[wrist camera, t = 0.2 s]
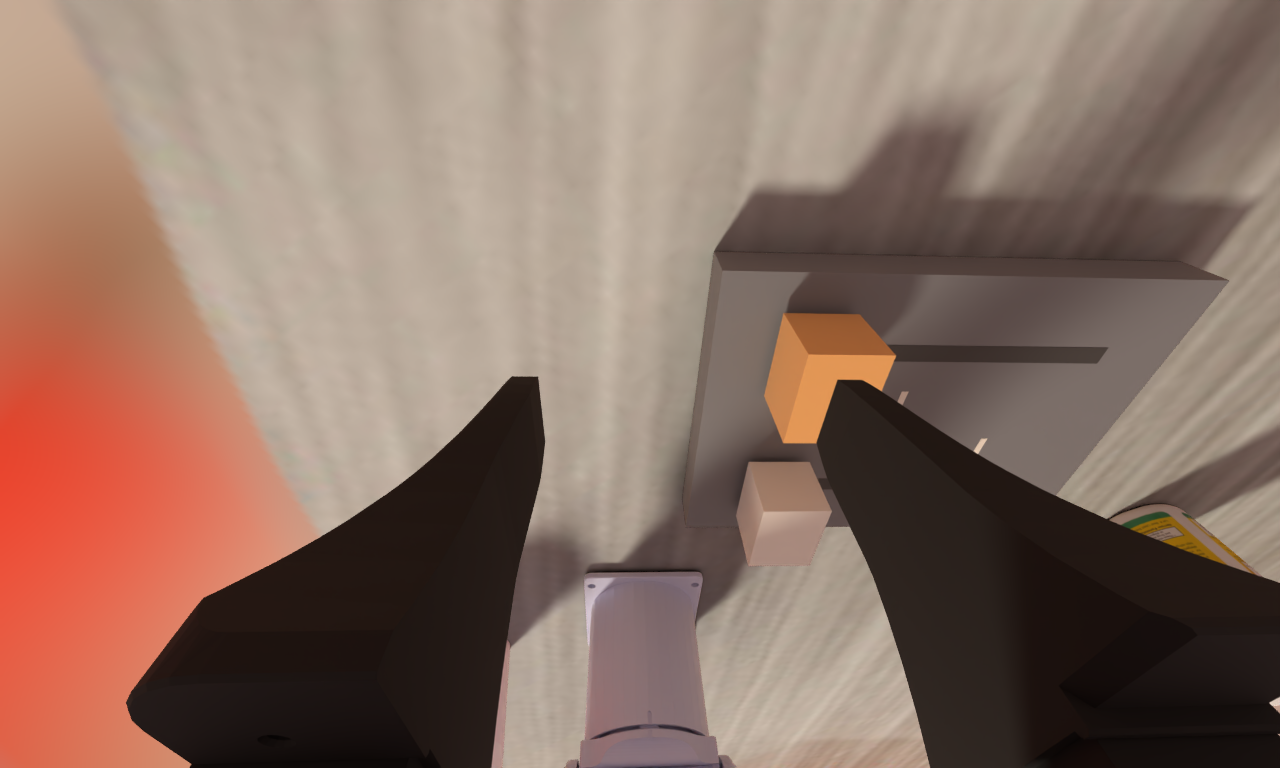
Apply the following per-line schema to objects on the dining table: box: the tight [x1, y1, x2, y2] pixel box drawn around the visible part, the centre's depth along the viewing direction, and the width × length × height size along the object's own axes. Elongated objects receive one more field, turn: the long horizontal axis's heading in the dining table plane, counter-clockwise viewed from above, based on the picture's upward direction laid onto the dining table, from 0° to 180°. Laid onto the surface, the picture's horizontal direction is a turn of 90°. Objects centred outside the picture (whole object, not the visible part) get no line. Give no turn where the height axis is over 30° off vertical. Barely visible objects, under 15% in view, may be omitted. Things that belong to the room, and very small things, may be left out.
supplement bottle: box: [1109, 504, 1280, 706], centre depth 27 cm, size 5×5×10 cm
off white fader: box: [736, 462, 832, 566], centre depth 23 cm, size 4×3×3 cm
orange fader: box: [764, 313, 896, 443], centre depth 18 cm, size 4×3×3 cm
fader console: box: [682, 251, 1229, 528], centre depth 23 cm, size 15×20×2 cm
